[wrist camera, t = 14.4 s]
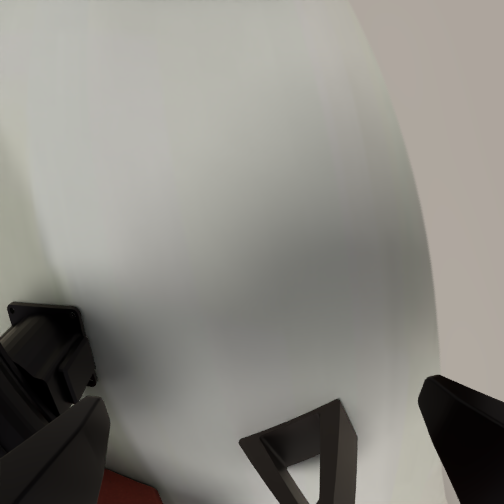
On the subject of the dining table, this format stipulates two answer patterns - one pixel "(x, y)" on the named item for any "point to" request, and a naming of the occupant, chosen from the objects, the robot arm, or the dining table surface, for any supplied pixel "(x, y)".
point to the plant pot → (125, 491)
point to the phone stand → (308, 454)
